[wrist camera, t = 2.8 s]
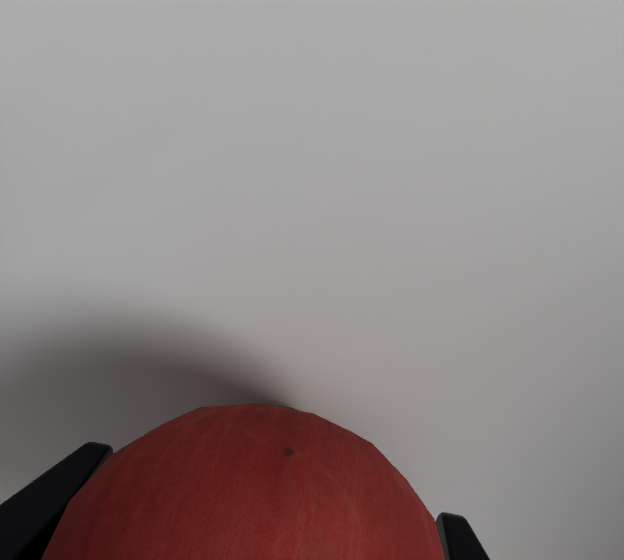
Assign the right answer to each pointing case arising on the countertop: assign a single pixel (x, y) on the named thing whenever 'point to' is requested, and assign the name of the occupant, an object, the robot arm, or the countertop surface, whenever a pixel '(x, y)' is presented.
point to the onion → (246, 495)
